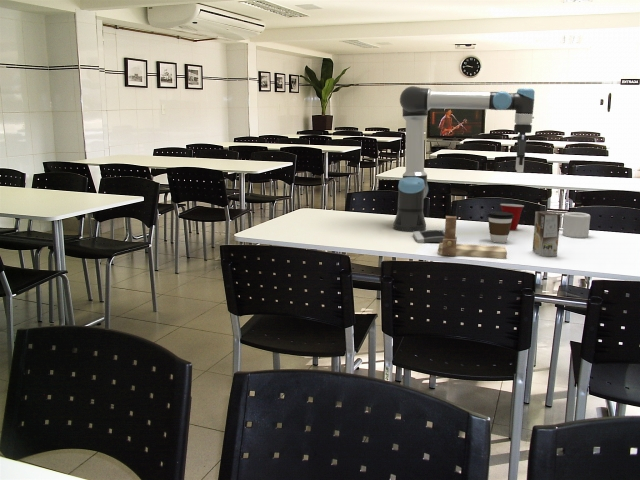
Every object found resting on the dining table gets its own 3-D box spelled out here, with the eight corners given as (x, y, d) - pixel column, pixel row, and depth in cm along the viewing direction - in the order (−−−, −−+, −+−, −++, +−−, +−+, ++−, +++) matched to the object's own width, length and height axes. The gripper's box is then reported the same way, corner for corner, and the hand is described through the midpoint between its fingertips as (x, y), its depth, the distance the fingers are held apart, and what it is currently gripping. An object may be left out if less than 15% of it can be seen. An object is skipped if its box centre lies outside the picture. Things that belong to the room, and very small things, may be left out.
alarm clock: (457, 237, 253) (417, 233, 253) (455, 248, 254) (416, 244, 254) (449, 229, 269) (412, 225, 270) (448, 239, 270) (411, 236, 271)
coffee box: (557, 256, 233) (561, 214, 230) (541, 256, 233) (545, 214, 229) (547, 251, 242) (550, 210, 239) (531, 251, 242) (534, 210, 238)
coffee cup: (498, 244, 253) (500, 216, 250) (479, 239, 262) (481, 212, 260) (517, 242, 258) (519, 214, 255) (499, 237, 267) (501, 210, 265)
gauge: (441, 255, 230) (443, 220, 227) (443, 247, 244) (444, 214, 241) (455, 256, 229) (457, 220, 226) (455, 248, 243) (457, 214, 240)
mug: (588, 235, 277) (590, 213, 275) (587, 239, 267) (590, 216, 265) (556, 232, 282) (558, 210, 280) (554, 236, 273) (556, 214, 271)
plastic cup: (523, 228, 290) (526, 203, 288) (520, 232, 281) (522, 206, 279) (500, 226, 295) (502, 201, 293) (496, 229, 286) (498, 204, 283)
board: (438, 254, 233) (438, 247, 233) (439, 248, 243) (439, 242, 243) (506, 258, 228) (506, 251, 228) (504, 252, 238) (505, 246, 237)
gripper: (533, 124, 263) (529, 173, 267) (530, 123, 287) (526, 169, 291) (515, 124, 265) (511, 173, 269) (513, 123, 289) (509, 168, 293)
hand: (519, 171), depth 280 cm, fingers open, 13 cm apart
